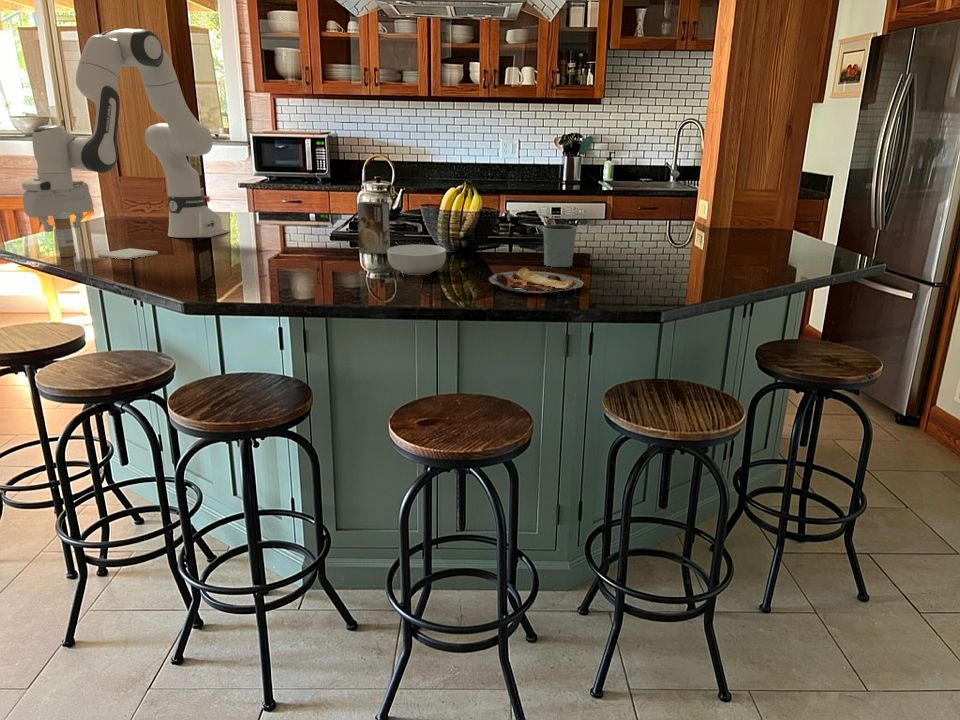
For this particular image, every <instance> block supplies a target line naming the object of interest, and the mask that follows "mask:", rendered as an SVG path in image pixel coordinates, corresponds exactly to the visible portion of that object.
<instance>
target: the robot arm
mask: <svg viewBox="0 0 960 720" xmlns="http://www.w3.org/2000/svg"><path fill="white" fill-rule="evenodd" d="M122 67H124V68H125V67H127V68H135V67H136V68H137V69H138V70H139V73H140V77H141V81H142V84H143V87H144V91H145V93H146V97H147V99H148V102H149V105H150V108H151V110H152V111H153V112H155V113H156V114H158V115H159V116H160V117H161V118H162V119H163V120H164V121H165V122H159V123H155V124H153V125H150V126H148V127H147V128H146V129H145V133H144V141H145V145H146V147H147V148H148V150H150V151H151V152H152V153H153V154H154V155H155V156H156V157H157V160H158V161H159V162H160V164H161V167H162V169H163V172H164V177H165V181H166V183H165V184H166V189H167V196H166V198H167V200H166V201H167V206H168V209H169V210H168V211H169V213H168V233H167V236H168V237H170V238H181V239H183V238H185V239H186V238H189V239H190V238H212V237H214V236H219V235H222V234H226V233H230V229H229V228H226V227H225V228H224V227H223V224H222V223H223V222H222V219H221V217H220V215H219V213H218V214H217V213H216V212H215V211H213V210H212V209H211V208H210V207H208V206H207V205H206V204H207V203H211V200H210V199H211V197H210V196H209V195H208V196H206V195H205V196H203V195H202V190H201V181H200V180H201V179H200V173H199V172H198V171H197V170H196V169H194V168H193V167H192V166H191V164H190V163H189V161H188V158H187V157H199V156H204V155H206V154H207V155H208V154H209V153H210V152H211V150H212V148H213V144H214V143H213V142H214V140H213V135H212V133H211V131H210V130H209V128H208V127H206V126H205V125H203V124H202V123H200V121H199V120H198V119H197V118H196V117H195V115H193V113H192V112H191V110H190V108H189V107H188V105H187V103H186V99H185V97H184V95H183V92H182V89H181V86H180V83H179V79H178V76H177V73H176V70H175V68H174V66H173V63H172V60H171V58H170V57H169V55H168V53H167V51H166V50H164V47H163V44H162V42H161V40H160V39H159V37H158V36H157V35H156V33H154V32H153V31H150V30H148V29H143V28H137V29H136V28H122V29H114V30H106V31H104V32H101V33H100V34H95V35H94V34H93V35H92V36H90V37H89V38H88V39H87V41H86V43H85V45H84V48H83V49H82V52H81V55H80V57H79V61H78V65H77V69H76V73H75V85H76V87H77V89H78V90H79V92H80V93H81V94H82V95H83V96H84V97H85V98H86V99H88V100H90V101H91V102H93V104H95V108H96V113H95V121H94V129H93V130H94V131H93V134H91V136H90V137H82V136H78V135H75V134H73V133H70V132H69V131H67V130H66V129H64V128H63V127H62V126H61V125H60V124H59V125H58V124H46V125H42V126H37V127H36V128H35V129H34V130H32V131H33V132H32V148H33V155H34V160H35V161H36V164H37V165H36V167H37V169H36V172H37V174H36V175H37V176H34V177H33V178H30V179H29V180H26V181H24V182H23V183H21V186H22V189H23V190H24V192H23V195H22V203H23V210H24V214H25V215H26V216H27V217H28V218H34V219H35V218H38V220H39V223H41V224H42V225H43V228H44V231H45V232H47V233H50V232H54V226H53V225H52V224H49V222H48V220H49V218H48V217H51V216H52V217H53V216H54V215H60V214H61V213H64V212H69V213H70V215H71V214H74V216H75V219H74V221H72V226H73V228H74V229H78V228H82V220H83V218H84V213H87V212H92V211H93V209H94V203H93V200H92V196H91V192H90V189H89V185H88V184H87V183H86V182H85V181H83V180H78V181H75V180H73V174H72V169H73V170H79V171H91V172H93V173H95V172H96V173H100V174H106V173H109V172H110V171H112V170H113V169H114V168H115V167H116V164H117V162H118V146H117V138H118V137H117V136H118V128H119V119H120V117H119V116H120V108H121V107H120V106H121V105H120V104H121V102H120V95H119V93H118V90H117V88H118V81H119V76H120V72H121V68H122ZM206 202H207V203H206Z"/></svg>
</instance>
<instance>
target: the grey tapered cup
mask: <svg viewBox="0 0 960 720" xmlns="http://www.w3.org/2000/svg"><path fill="white" fill-rule="evenodd" d="M577 228H578V227H577V226H575V225H571V224H561V223H560V224H559V223H557V224H555V223H554V224H546V225H543V227H542V231H543V232H542V233H543V263H544V264H543V265H544V266H545V265H546V266H545V267H547V266H551V267H550V268H552V267H569V268H571V267H572V266H573V257H574V252H575V244H576V243H575V242H576V236H577V230H578V229H577ZM570 266H571V267H570Z"/></svg>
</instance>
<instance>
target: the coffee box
mask: <svg viewBox="0 0 960 720" xmlns="http://www.w3.org/2000/svg"><path fill="white" fill-rule="evenodd" d="M356 206H357V207H356V208H357V212H356V213H357V229H358V231H357V232H358V235H357V236H358V253H362V254H377V255H378V254H379V255H381V254H382V255H385V254H387V250H388V249H389V248H391V238H390V237H391V236H390V235H391V234H390V230H391V229H390V203H389V202H382V201H381V202H378V201H361V202H358V203H357V204H356Z"/></svg>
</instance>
